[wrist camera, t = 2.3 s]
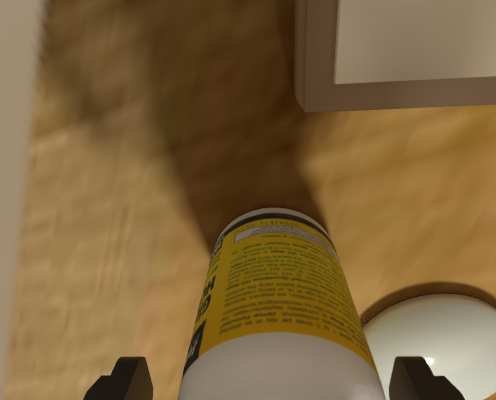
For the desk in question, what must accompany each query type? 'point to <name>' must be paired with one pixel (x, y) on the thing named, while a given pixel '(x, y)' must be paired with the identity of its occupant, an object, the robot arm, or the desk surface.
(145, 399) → the robot arm
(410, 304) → the pale white disc
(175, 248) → the desk surface
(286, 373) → the pill bottle
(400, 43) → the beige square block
